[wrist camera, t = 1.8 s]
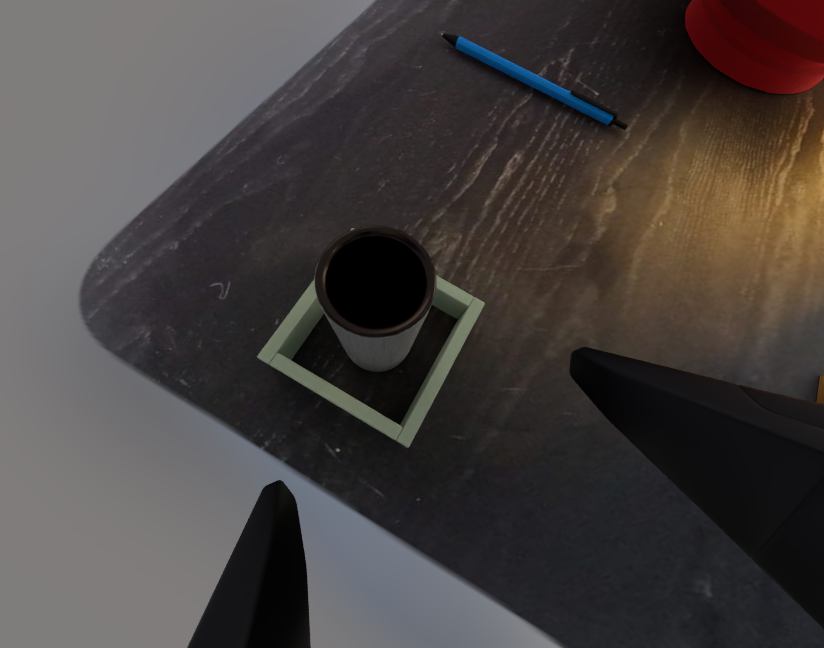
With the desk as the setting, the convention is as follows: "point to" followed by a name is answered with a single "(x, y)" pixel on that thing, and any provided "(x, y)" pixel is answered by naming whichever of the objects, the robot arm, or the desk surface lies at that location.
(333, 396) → the square frame
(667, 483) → the desk surface
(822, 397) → the board
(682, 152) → the desk surface
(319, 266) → the grey cylindrical cup
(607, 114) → the pen
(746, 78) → the bowl
